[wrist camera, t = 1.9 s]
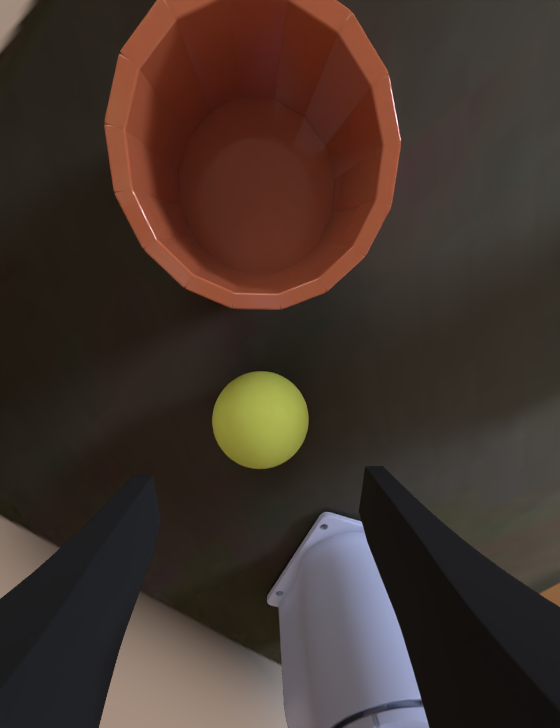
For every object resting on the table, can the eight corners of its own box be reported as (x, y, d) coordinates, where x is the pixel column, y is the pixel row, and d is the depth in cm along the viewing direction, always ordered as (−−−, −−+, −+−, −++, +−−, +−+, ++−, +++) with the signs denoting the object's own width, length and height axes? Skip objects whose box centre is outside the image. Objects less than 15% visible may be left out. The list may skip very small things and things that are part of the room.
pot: (297, 306, 16) (319, 346, 10) (148, 239, 14) (76, 243, 9) (373, 145, 13) (456, 83, 8) (204, 44, 12) (156, -128, 6)
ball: (280, 441, 19) (287, 502, 14) (206, 415, 18) (190, 473, 13) (316, 375, 17) (335, 422, 13) (236, 344, 16) (229, 383, 12)
